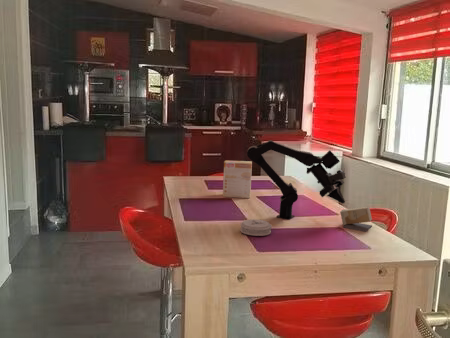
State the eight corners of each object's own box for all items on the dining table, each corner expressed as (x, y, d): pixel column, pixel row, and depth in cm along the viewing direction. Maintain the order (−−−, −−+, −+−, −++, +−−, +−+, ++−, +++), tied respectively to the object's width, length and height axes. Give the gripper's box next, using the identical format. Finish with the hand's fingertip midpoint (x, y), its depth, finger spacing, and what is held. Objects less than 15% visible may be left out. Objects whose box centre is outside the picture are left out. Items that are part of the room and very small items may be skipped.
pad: (366, 231, 193) (366, 230, 193) (343, 227, 198) (343, 226, 198) (371, 226, 201) (372, 225, 201) (349, 222, 206) (349, 221, 206)
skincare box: (339, 211, 201) (367, 207, 195) (342, 209, 204) (369, 205, 198) (342, 225, 201) (370, 222, 195) (345, 223, 205) (372, 219, 198)
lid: (252, 226, 194) (252, 215, 193) (276, 233, 186) (277, 221, 185) (234, 232, 184) (234, 221, 184) (259, 240, 177) (260, 227, 176)
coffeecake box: (250, 195, 252) (252, 161, 249) (249, 198, 245) (251, 163, 242) (223, 194, 253) (225, 159, 250) (222, 196, 246) (223, 161, 243)
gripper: (328, 167, 193) (352, 195, 190) (341, 162, 209) (363, 188, 206) (309, 182, 199) (332, 211, 195) (323, 176, 215) (345, 202, 211)
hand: (344, 202), depth 201 cm, fingers closed
